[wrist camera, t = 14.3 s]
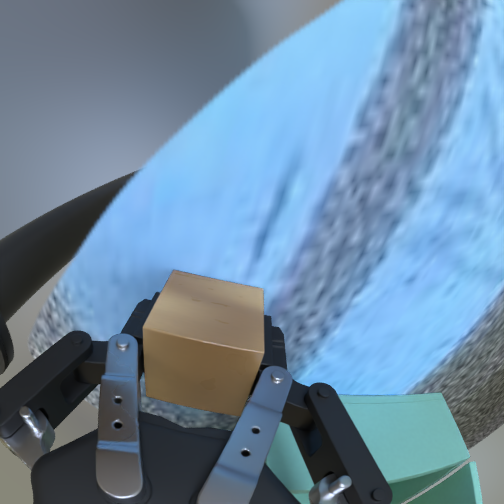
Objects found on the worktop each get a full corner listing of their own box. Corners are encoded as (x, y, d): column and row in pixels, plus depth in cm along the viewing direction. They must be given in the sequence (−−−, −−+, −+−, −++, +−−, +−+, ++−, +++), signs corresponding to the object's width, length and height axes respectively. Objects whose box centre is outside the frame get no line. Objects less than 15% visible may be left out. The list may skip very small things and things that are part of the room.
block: (168, 336, 15) (145, 396, 11) (173, 269, 14) (142, 326, 10) (245, 352, 16) (241, 417, 12) (263, 288, 14) (264, 353, 10)
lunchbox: (234, 455, 22) (230, 521, 15) (265, 388, 17) (266, 489, 10) (377, 456, 23) (389, 509, 16) (441, 392, 18) (470, 456, 11)
